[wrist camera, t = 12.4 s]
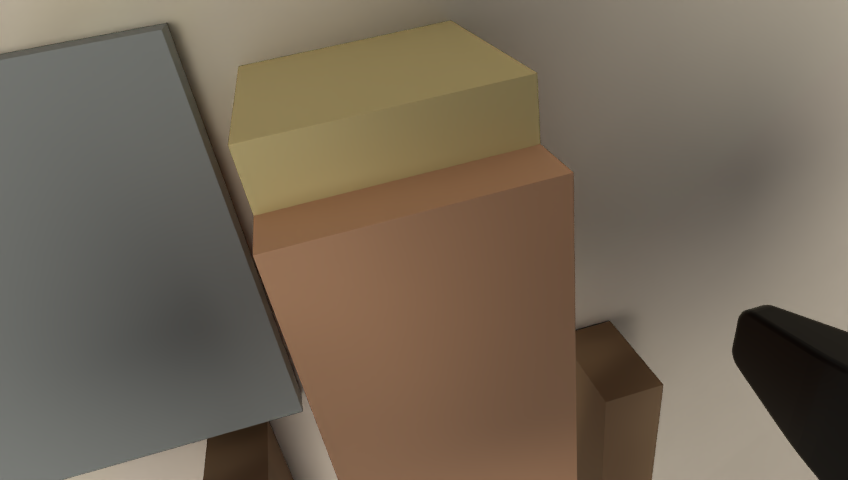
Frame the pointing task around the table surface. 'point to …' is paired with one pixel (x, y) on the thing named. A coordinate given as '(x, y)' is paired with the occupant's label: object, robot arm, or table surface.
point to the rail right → (614, 407)
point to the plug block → (416, 253)
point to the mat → (121, 266)
